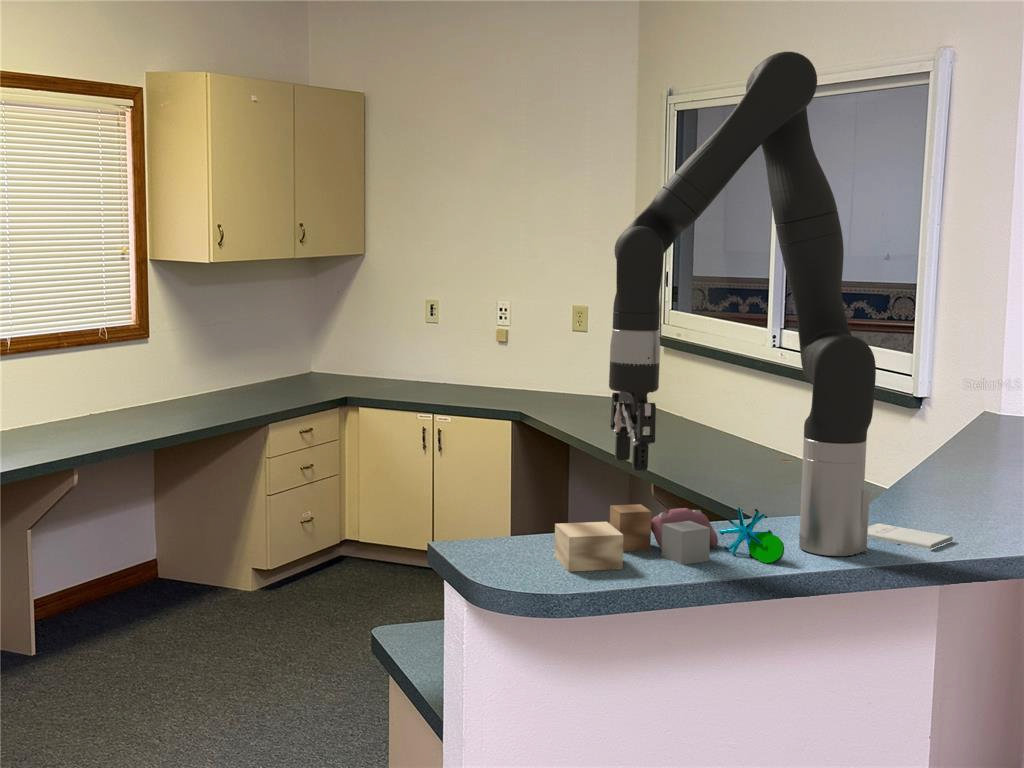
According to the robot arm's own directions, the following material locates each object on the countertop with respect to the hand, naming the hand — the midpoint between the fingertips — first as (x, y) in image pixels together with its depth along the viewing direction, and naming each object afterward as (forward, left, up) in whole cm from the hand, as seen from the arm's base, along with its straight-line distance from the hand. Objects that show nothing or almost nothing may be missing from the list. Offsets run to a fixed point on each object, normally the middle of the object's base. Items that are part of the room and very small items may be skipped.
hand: (630, 464), depth 170 cm
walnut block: (0, 0, -13) cm, 13 cm away
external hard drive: (-45, +3, -14) cm, 47 cm away
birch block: (+9, +8, -13) cm, 17 cm away
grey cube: (-6, +8, -13) cm, 16 cm away
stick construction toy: (-18, +8, -13) cm, 24 cm away
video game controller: (-8, +2, -13) cm, 16 cm away
